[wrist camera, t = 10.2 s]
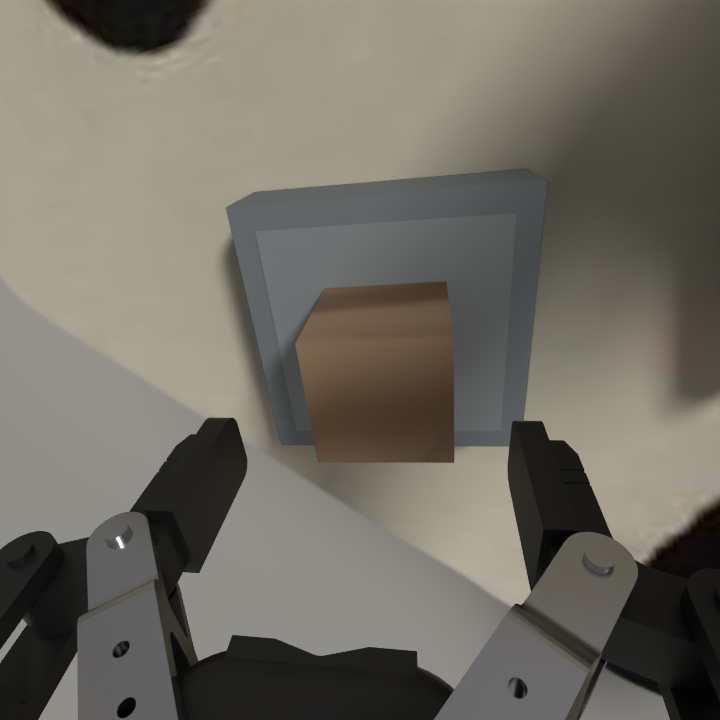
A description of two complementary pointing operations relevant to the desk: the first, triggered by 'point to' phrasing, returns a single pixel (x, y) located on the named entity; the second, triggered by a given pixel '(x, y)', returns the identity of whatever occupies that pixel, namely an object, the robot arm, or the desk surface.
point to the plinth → (401, 278)
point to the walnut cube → (380, 373)
